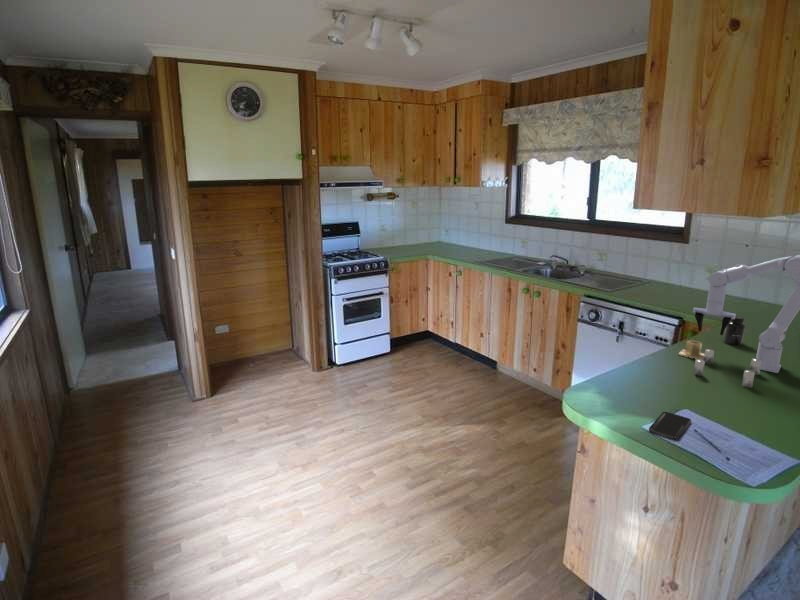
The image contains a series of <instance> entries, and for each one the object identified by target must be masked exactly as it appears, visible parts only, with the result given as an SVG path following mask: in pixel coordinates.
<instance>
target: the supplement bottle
mask: <svg viewBox="0 0 800 600" xmlns="http://www.w3.org/2000/svg"><path fill="white" fill-rule="evenodd" d="M744 320H745V318H744V316H738V315H736V316H735V319H732V320H731V321H730V322H729V323H728V325H727V327H726V328H725V330H724V334H723V335H724V336H723V342H724V343H725V344H727V345H732V346H741V345H742V344H743V340H744V337H745V336H744V334H745V329H746V324H744V322H745V321H744Z"/></svg>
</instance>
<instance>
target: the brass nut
mask: <svg viewBox="0 0 800 600" xmlns="http://www.w3.org/2000/svg"><path fill="white" fill-rule="evenodd" d="M702 348H703V342H702V341H698V340H687V341H686V343H685V354H688V355H690V356H700V355H701V353H702Z"/></svg>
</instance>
